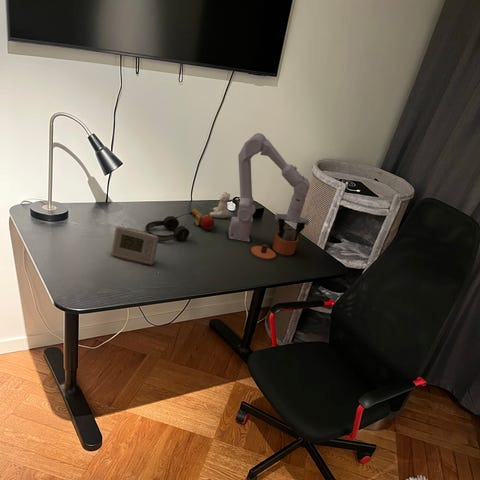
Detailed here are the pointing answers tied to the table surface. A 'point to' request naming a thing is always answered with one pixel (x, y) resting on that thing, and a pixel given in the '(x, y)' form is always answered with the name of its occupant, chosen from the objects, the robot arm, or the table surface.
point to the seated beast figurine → (221, 207)
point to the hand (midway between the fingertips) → (286, 237)
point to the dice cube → (288, 234)
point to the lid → (263, 252)
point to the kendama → (203, 219)
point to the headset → (169, 228)
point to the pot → (284, 245)
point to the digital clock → (134, 245)
